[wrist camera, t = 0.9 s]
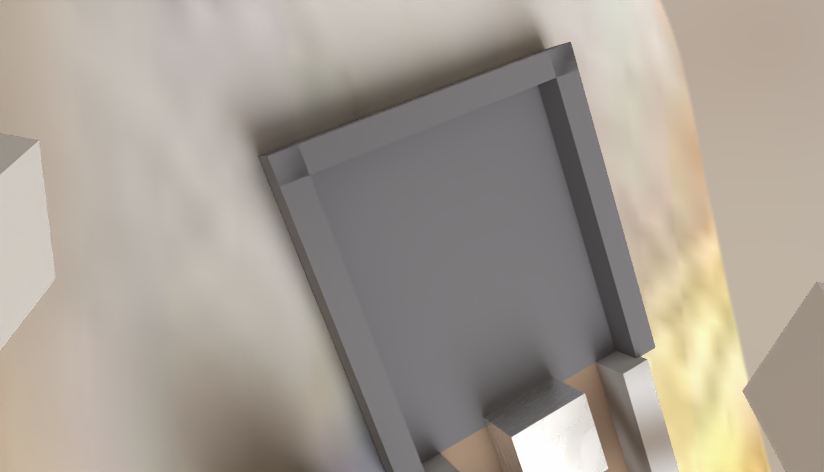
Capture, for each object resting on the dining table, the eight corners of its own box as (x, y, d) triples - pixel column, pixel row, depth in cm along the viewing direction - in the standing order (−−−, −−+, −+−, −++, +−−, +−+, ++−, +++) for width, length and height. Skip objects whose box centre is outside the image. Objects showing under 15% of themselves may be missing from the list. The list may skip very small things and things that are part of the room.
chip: (482, 416, 30) (511, 437, 28) (552, 376, 32) (585, 393, 29) (508, 489, 31) (538, 514, 29) (574, 447, 33) (608, 468, 30)
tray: (258, 156, 26) (267, 155, 24) (545, 49, 30) (570, 41, 29) (387, 477, 29) (404, 497, 27) (628, 338, 34) (655, 347, 32)
